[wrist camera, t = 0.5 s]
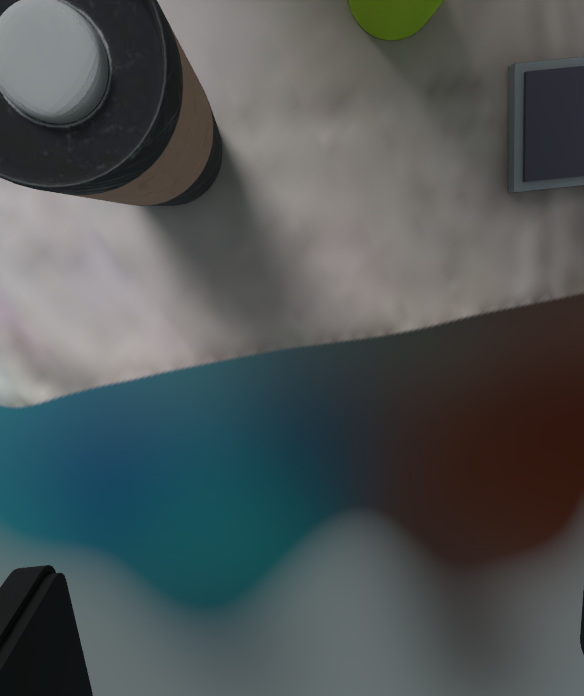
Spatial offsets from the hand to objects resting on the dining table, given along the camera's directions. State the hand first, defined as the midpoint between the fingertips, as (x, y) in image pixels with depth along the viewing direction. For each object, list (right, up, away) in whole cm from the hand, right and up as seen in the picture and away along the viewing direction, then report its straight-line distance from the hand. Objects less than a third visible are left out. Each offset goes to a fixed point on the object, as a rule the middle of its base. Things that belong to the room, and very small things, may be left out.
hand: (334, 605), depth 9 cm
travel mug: (-9, +18, +25) cm, 32 cm away
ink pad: (+19, +20, +26) cm, 38 cm away
